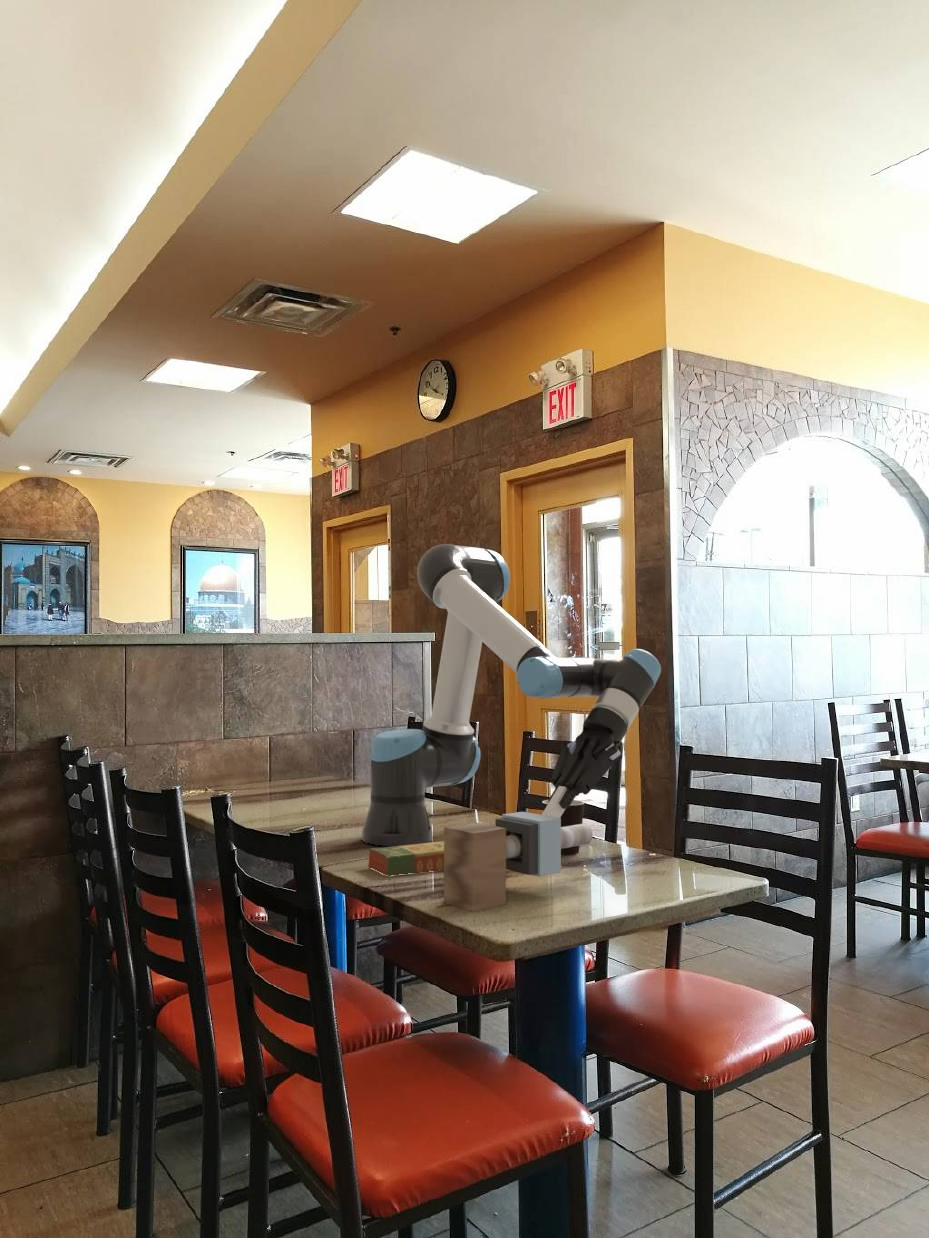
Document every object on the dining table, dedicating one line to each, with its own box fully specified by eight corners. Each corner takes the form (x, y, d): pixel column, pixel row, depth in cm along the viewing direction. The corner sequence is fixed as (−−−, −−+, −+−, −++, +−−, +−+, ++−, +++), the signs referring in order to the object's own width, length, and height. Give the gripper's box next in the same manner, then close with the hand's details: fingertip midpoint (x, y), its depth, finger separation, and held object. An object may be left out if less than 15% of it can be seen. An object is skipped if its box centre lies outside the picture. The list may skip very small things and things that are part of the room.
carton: (465, 870, 177) (465, 847, 177) (386, 879, 169) (386, 855, 169) (444, 861, 184) (444, 839, 184) (368, 870, 176) (368, 847, 177)
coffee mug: (582, 856, 188) (582, 806, 189) (539, 854, 190) (539, 804, 190) (587, 845, 200) (587, 798, 200) (546, 843, 201) (546, 796, 202)
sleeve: (501, 867, 162) (501, 814, 162) (522, 863, 165) (522, 811, 165) (539, 876, 155) (540, 821, 155) (560, 872, 158) (560, 818, 159)
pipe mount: (443, 902, 152) (444, 827, 152) (569, 875, 171) (570, 808, 172) (473, 911, 146) (473, 833, 147) (599, 882, 166) (599, 813, 167)
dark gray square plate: (495, 866, 160) (495, 819, 160) (503, 865, 161) (503, 817, 162) (529, 875, 154) (529, 825, 154) (537, 873, 155) (537, 823, 156)
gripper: (647, 735, 171) (587, 839, 159) (592, 730, 181) (531, 829, 169) (629, 706, 168) (566, 811, 156) (573, 703, 177) (510, 802, 166)
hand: (548, 820), depth 162 cm, fingers closed
